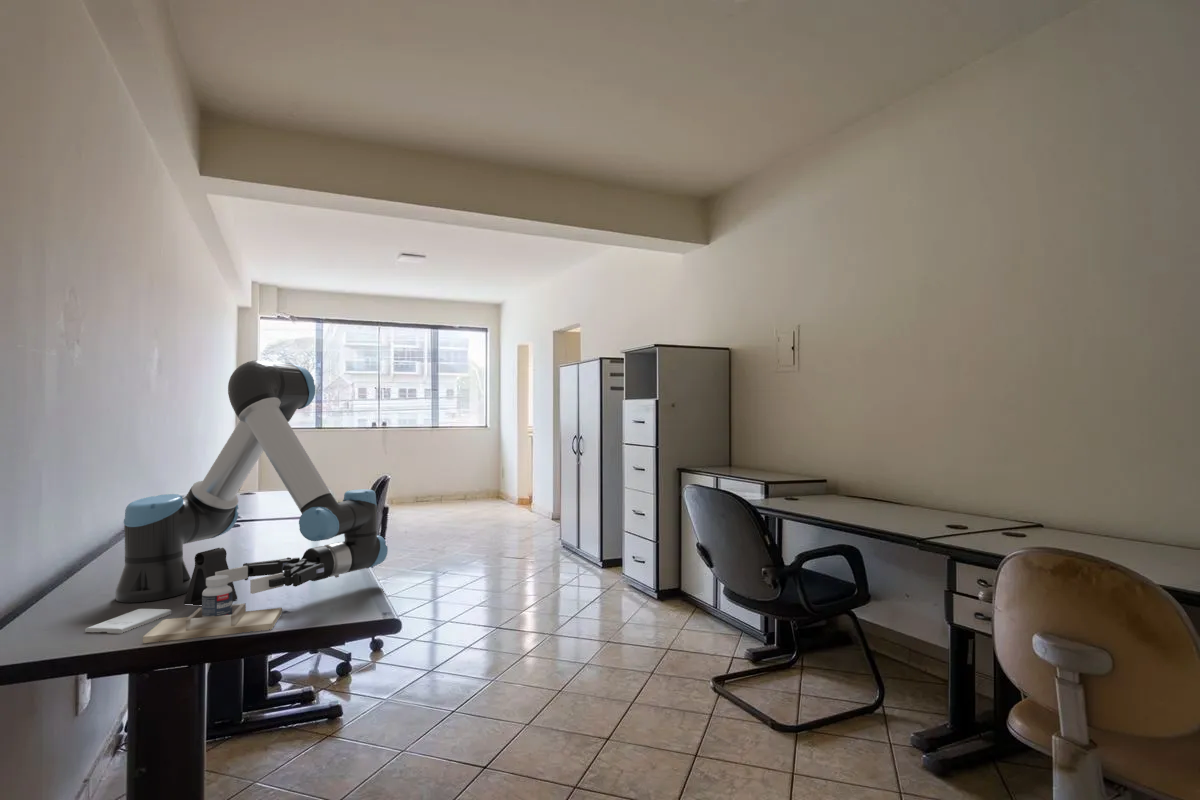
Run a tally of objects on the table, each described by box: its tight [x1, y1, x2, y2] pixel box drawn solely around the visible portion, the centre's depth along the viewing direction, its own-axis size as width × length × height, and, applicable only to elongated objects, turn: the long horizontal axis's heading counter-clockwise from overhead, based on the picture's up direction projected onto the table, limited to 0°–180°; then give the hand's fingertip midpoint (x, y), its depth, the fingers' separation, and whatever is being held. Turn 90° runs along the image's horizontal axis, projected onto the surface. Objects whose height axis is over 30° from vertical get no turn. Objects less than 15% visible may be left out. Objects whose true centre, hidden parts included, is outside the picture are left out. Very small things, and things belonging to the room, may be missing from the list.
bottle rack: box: [142, 603, 283, 644], centre depth 129 cm, size 22×11×3 cm, turn 107°
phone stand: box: [183, 547, 238, 605], centre depth 147 cm, size 9×6×12 cm, turn 76°
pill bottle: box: [201, 575, 233, 617], centre depth 129 cm, size 5×5×9 cm
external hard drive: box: [85, 608, 172, 634], centre depth 133 cm, size 2×8×12 cm
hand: (233, 582), depth 131 cm, fingers open, 13 cm apart
